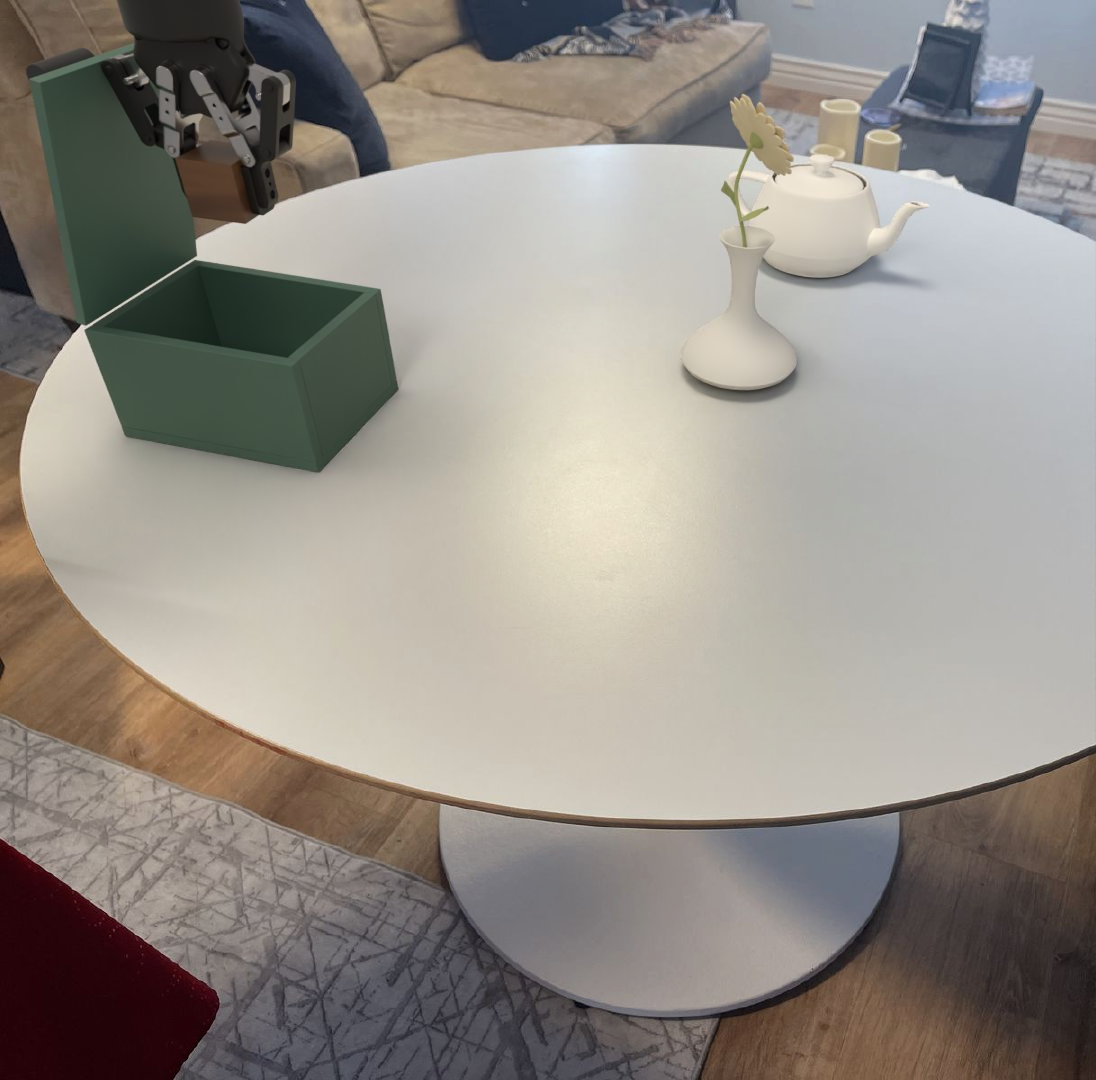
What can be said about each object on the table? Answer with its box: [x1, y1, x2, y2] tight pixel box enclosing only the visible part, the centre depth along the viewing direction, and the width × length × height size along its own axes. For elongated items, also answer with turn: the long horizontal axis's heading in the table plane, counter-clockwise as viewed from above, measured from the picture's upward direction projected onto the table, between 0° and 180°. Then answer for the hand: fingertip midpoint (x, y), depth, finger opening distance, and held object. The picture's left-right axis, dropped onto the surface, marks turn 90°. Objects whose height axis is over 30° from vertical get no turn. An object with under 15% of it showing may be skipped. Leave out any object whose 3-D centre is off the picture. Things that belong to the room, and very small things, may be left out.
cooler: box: [83, 259, 399, 473], centre depth 86 cm, size 18×14×10 cm
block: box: [176, 139, 277, 225], centre depth 75 cm, size 4×4×4 cm
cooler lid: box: [25, 42, 198, 327], centre depth 77 cm, size 19×14×5 cm
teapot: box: [726, 153, 931, 279], centre depth 116 cm, size 25×16×12 cm, turn 61°
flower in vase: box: [679, 93, 798, 391], centre depth 91 cm, size 13×11×25 cm
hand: (233, 206), depth 77 cm, fingers closed on block, 4 cm apart
